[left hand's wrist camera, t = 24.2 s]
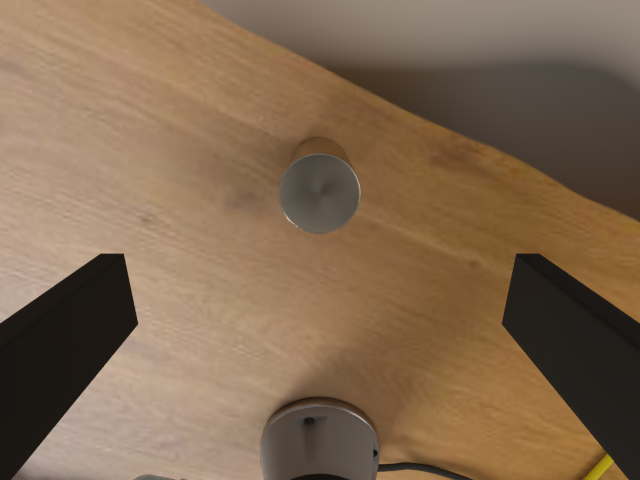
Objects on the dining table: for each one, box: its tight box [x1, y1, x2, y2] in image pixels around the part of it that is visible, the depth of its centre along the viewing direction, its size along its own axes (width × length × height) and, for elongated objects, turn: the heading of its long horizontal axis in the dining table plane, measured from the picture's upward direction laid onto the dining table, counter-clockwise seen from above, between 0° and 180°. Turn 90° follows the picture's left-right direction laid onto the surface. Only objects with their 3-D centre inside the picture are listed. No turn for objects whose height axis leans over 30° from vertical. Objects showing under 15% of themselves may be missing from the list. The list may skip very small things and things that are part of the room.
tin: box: [279, 138, 361, 233], centre depth 30 cm, size 6×6×11 cm
